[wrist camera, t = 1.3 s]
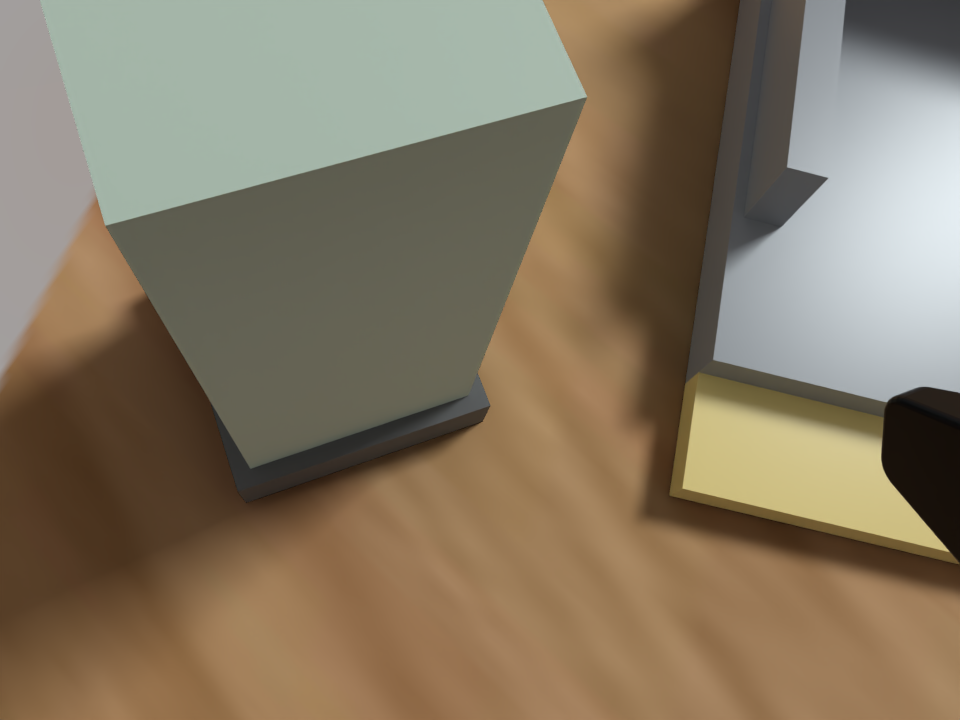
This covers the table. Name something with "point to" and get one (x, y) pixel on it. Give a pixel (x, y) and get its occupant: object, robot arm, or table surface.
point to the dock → (826, 264)
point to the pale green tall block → (322, 202)
